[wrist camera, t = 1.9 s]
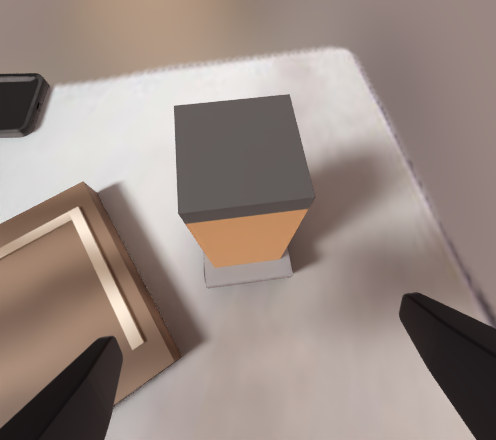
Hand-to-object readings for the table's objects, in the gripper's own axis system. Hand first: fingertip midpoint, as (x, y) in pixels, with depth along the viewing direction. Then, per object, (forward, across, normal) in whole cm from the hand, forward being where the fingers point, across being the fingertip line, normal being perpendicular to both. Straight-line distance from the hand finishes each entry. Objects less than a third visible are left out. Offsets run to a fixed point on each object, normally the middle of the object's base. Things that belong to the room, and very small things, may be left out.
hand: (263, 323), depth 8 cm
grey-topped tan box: (+13, 0, +4) cm, 14 cm away
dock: (+10, +15, +7) cm, 20 cm away
